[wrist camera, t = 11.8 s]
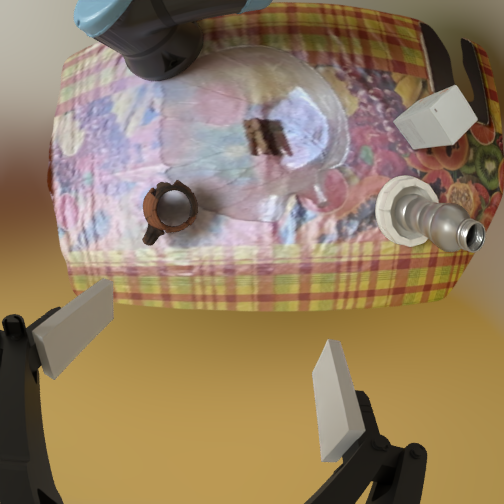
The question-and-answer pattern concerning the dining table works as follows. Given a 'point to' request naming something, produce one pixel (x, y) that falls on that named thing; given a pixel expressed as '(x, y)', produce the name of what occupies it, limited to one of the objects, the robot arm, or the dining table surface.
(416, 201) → the plastic bottle
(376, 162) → the dining table surface
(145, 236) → the broken clay pot
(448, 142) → the small box
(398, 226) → the bowl
